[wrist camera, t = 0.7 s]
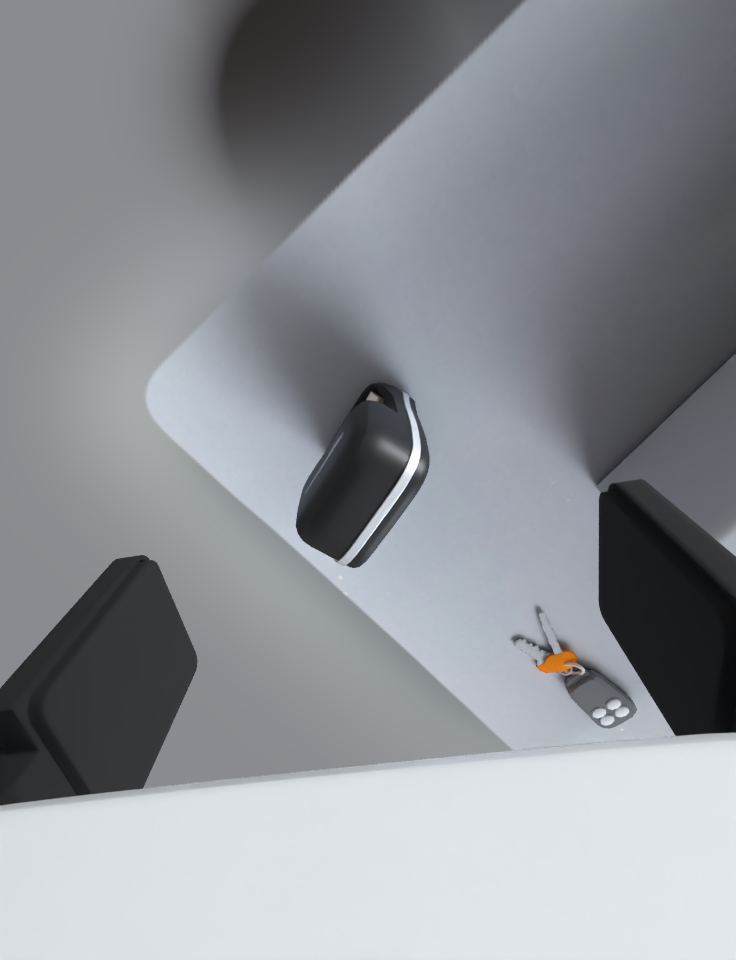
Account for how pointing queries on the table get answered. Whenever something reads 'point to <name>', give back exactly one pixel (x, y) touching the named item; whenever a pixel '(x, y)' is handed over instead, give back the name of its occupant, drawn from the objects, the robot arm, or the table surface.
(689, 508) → the box
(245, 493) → the table surface
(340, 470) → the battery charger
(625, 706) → the key chain
